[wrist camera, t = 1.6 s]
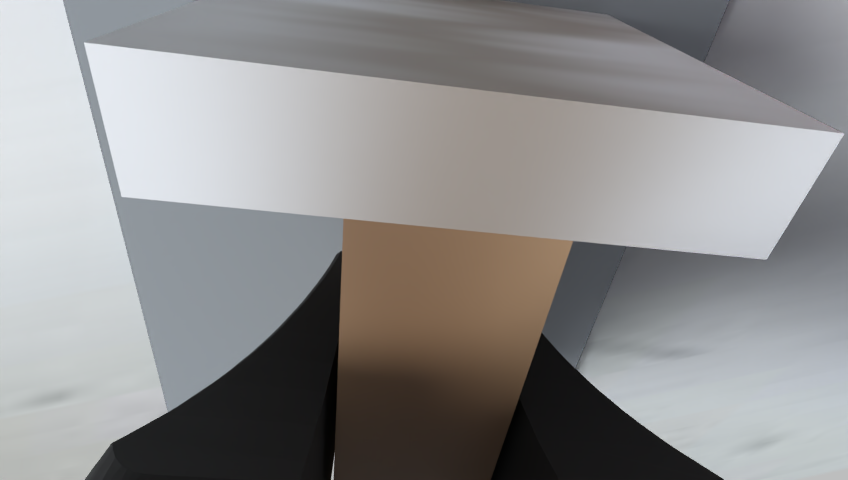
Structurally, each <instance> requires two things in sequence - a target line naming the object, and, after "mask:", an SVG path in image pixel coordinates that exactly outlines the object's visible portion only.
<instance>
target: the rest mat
mask: <svg viewBox="0 0 848 480" xmlns="http://www.w3.org/2000/svg"><path fill="white" fill-rule="evenodd" d="M194 1H197V0H63V2H64V6H65V10H66V14H67V18H68V22H69V26H70V30H71V34H72V38H73V41H74V45H75V49H76V53H77V57H78V61H79V65H80V69H81V73H82V77H83V81H84V85H85V89H86V92H87V96H88V100H89V104H90V108H91V112H92V116H93V120H94V124H95V128H96V132H97V136H98V140H99V143H100V147H101V151H102V155H103V159H104V163H105V167H106V171H107V175H108V179H109V183H110V187H111V190H112V194H113V198H114V202H115V206H116V210H117V214H118V218H119V222H120V226H121V230H122V234H123V238H124V241H125V245H126V249H127V253H128V257H129V261H130V265H131V269H132V273H133V277H134V281H135V285H136V289H137V292H138V296H139V300H140V304H141V308H142V312H143V316H144V320H145V324H146V328H147V332H148V336H149V340H150V343H151V347H152V351H153V355H154V359H155V363H156V367H157V371H158V375H159V379H160V383H161V387H162V390H163V394H164V398H165V402H166V406H167V410H168V412H169V411H171V410H172V409H174V408H176V407H177V406H179V405H180V404H182V403H183V402H185V401H186V400H188V399H189V398H191V397H192V396H194V395H195V394H197V393H198V392H200V391H201V390H203V389H204V388H206V387H207V386H209V385H210V384H212V383H213V382H215V381H216V380H217V379H219V378H220V377H221V376H223V375H224V374H225V373H227V372H228V371H229V370H231V369H232V368H233V367H234V366H236V365H237V364H238V363H239V362H240V361H242V360H243V359H244V358H245V357H247V356H248V355H249V354H250V353H252V352H253V351H254V350H255V349H256V348H257V347H258V346H259V345H261V344H262V343H263V342H264V341H265V340H266V339H267V338H268V337H269V336H270V335H271V334H272V333H273V332H274V331H275V330H276V329H278V328H279V327H280V326H281V324H282V323H283V322H284V321H285V320H286V319H287V318H288V317H289V316H290V315H291V314H292V313H293V312H294V310H295V309H296V308H297V307H298V306H299V305H300V304H301V303H302V301H303V300H304V299H305V298H306V297H307V295H308V294H309V293H310V292H311V290H312V289H313V288H314V287H315V285H316V284H317V283H318V281H319V280H320V279H321V277H322V276H323V275H324V273H325V272H326V270H327V269H328V267H329V266H330V264H331V263H332V261H333V259H334V258H335V256H336V254H337V253H339V252H340V251H342V243H343V218H333V217H323V216H313V215H302V214H292V213H282V212H272V211H261V210H251V209H241V208H231V207H220V206H210V205H200V204H190V203H179V202H169V201H159V200H149V199H138V198H128V197H122V196H121V192H120V188H119V184H118V180H117V176H116V172H115V168H114V164H113V160H112V155H111V151H110V147H109V143H108V139H107V135H106V131H105V127H104V123H103V119H102V115H101V110H100V106H99V102H98V98H97V94H96V90H95V86H94V82H93V78H92V74H91V70H90V65H89V61H88V57H87V53H86V49H85V45H84V42H86V41H89V40H92V39H94V38H97V37H100V36H102V35H105V34H108V33H111V32H113V31H116V30H119V29H121V28H124V27H127V26H129V25H132V24H135V23H138V22H140V21H143V20H146V19H148V18H151V17H154V16H156V15H159V14H162V13H164V12H167V11H170V10H173V9H175V8H178V7H181V6H183V5H186V4H189V3H191V2H194ZM503 1H510V2H518V3H525V4H533V5H540V6H548V7H555V8H562V9H570V10H577V11H585V12H592V13H600V14H607V15H610V16H612V17H614V18H616V19H618V20H620V21H622V22H624V23H625V24H627V25H629V26H631V27H633V28H635V29H637V30H639V31H641V32H643V33H645V34H647V35H649V36H651V37H653V38H655V39H657V40H659V41H661V42H663V43H665V44H667V45H669V46H671V47H673V48H675V49H677V50H679V51H681V52H683V53H685V54H687V55H689V56H691V57H693V58H695V59H697V60H699V61H701V62H703V63H704V60H705V58H706V56H707V53H708V51H709V48H710V46H711V44H712V41H713V39H714V37H715V34H716V32H717V29H718V27H719V25H720V22H721V20H722V17H723V15H724V13H725V10H726V8H727V6H728V3H729V1H730V0H503ZM625 249H626V246H620V245H610V244H600V243H589V242H579V241H573V243H572V246H571V249H570V252H569V255H568V257H567V260H566V263H565V266H564V269H563V272H562V275H561V278H560V281H559V284H558V286H557V289H556V292H555V295H554V298H553V301H552V304H551V307H550V310H549V312H548V315H547V318H546V321H545V324H544V327H543V330H542V333H543V334H544V336H545V337H546V338H547V339H548V340H549V341H550V342H551V344H552V345H553V346H554V347H555V348H556V349H557V350H558V351H559V353H560V354H561V355H562V356H563V357H564V358H565V359H566V360H567V361H568V362H569V363H570V364H571V365H572V366H573V367H574V368H576V366H577V363H578V361H579V358H580V356H581V354H582V351H583V349H584V346H585V344H586V342H587V339H588V337H589V335H590V332H591V330H592V327H593V325H594V323H595V320H596V318H597V315H598V313H599V311H600V308H601V306H602V304H603V301H604V299H605V296H606V294H607V292H608V289H609V287H610V284H611V282H612V280H613V277H614V275H615V273H616V270H617V268H618V265H619V263H620V261H621V258H622V256H623V253H624V251H625Z"/></svg>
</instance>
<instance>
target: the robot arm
mask: <svg viewBox="0 0 848 480" xmlns="http://www.w3.org/2000/svg"><path fill="white" fill-rule="evenodd" d="M341 270H342V251H340V252H339V253H337V254H336V256H335V258H334V259H333V261H332V263H331V264H330V266H329V267H328V269H327V270H326V272H325V273H324V275H323V276H322V277H321V279H320V280H319V281H318V283H317V284H316V285H315V287H314V288H313V289H312V290H311V292H310V293H309V294H308V295H307V297H306V298H305V299H304V300H303V301H302V303H301V304H300V305H299V306H298V307H297V308H296V309H295V310H294V312H293V313H292V314H291V315H290V316H289V317H288V318H287V319H286V320H285V321H284V322H283V323H282V324H281V326H280V327H279V328H278V329H276V330H275V331H274V332H273V333H272V334H271V335H270V336H269V337H268V338H267V339H266V340H265V341H264V342H263V343H262V344H261V345H259V346H258V347H257V348H256V349H255V350H254V351H253V352H252V353H250V354H249V355H248V356H247V357H245V358H244V359H243V360H242V361H240V362H239V363H238V364H237V365H236V366H234V367H233V368H232V369H231V370H229V371H228V372H227V373H225V374H224V375H223V376H221V377H220V378H219V379H217V380H216V381H215V382H213V383H212V384H210V385H209V386H207V387H206V388H204V389H203V390H201V391H200V392H198V393H197V394H195V395H194V396H192V397H191V398H189V399H188V400H186V401H185V402H183V403H182V404H180V405H179V406H177V407H176V408H174V409H172V410H171V411H169V412H168V413H166V414H164V415H163V416H161V417H159V418H157V419H155V420H154V421H152V422H150V423H148V424H146V425H145V426H143V427H141V428H139V429H137V430H135V431H134V432H132V433H130V434H128V435H126V436H125V437H123V438H121V439H119V440H117V441H115V442H113V443H112V444H111V445H110V446H109V448H108V449H107V450H106V452H105V453H104V454H103V456H102V457H101V459H100V460H99V461H98V462H97V464H96V465H95V466H94V468H93V469H92V470H91V472H90V473H89V475H88V476H87V477H86V479H85V480H331V474H332V467H333V460H334V453H335V433H336V406H337V379H338V352H339V324H340V297H341ZM491 480H724V479H722V478H721V477H719V476H718V475H716V474H714V473H713V472H711V471H710V470H708V469H707V468H705V467H703V466H702V465H700V464H699V463H697V462H695V461H694V460H692V459H691V458H689V457H688V456H686V455H684V454H683V453H681V452H680V451H678V450H676V449H675V448H673V447H672V446H670V445H669V444H667V443H666V442H665V441H663V440H662V439H660V438H659V437H658V436H656V435H655V434H653V433H652V432H651V431H649V430H648V429H646V428H645V427H644V426H642V425H641V424H640V423H638V422H637V421H636V420H634V419H633V418H632V417H630V416H629V415H628V414H627V413H625V412H624V411H623V410H621V409H620V408H619V407H618V406H617V405H615V404H614V403H613V402H612V401H611V400H610V399H608V398H607V397H606V396H605V395H604V394H602V393H601V392H600V391H599V390H598V389H597V388H595V387H594V386H593V385H592V384H591V383H590V382H589V381H588V380H587V379H586V378H585V377H583V376H582V375H581V374H580V373H579V372H578V371H577V370H576V369H575V368H574V367H573V366H572V365H571V364H570V363H569V362H568V361H567V360H566V359H565V358H564V357H563V356H562V355H561V354H560V353H559V351H558V350H557V349H556V348H555V347H554V346H553V345H552V344H551V342H550V341H549V340H548V339H547V338H546V337H545V336H544V334H543V333H541V336H540V339H539V341H538V344H537V347H536V350H535V353H534V356H533V359H532V362H531V365H530V368H529V370H528V373H527V376H526V379H525V382H524V385H523V388H522V391H521V394H520V396H519V399H518V402H517V405H516V408H515V411H514V414H513V417H512V420H511V423H510V425H509V428H508V431H507V434H506V437H505V440H504V443H503V446H502V449H501V452H500V454H499V457H498V460H497V463H496V466H495V469H494V472H493V475H492V478H491Z"/></svg>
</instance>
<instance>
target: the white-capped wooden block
mask: <svg viewBox="0 0 848 480" xmlns="http://www.w3.org/2000/svg"><path fill="white" fill-rule="evenodd" d="M84 45H85V49H86V53H87V57H88V61H89V65H90V70H91V74H92V78H93V82H94V86H95V90H96V94H97V98H98V102H99V106H100V110H101V115H102V119H103V123H104V127H105V131H106V135H107V139H108V143H109V147H110V151H111V155H112V160H113V164H114V168H115V172H116V176H117V180H118V184H119V188H120V192H121V196H122V197H128V198H138V199H149V200H159V201H169V202H179V203H190V204H200V205H210V206H220V207H231V208H241V209H251V210H261V211H272V212H282V213H292V214H302V215H313V216H323V217H333V218H343V243H342V270H341V297H340V324H339V352H338V379H337V406H336V433H335V460H334V480H491V478H492V475H493V472H494V469H495V466H496V463H497V460H498V457H499V454H500V452H501V449H502V446H503V443H504V440H505V437H506V434H507V431H508V428H509V425H510V423H511V420H512V417H513V414H514V411H515V408H516V405H517V402H518V399H519V396H520V394H521V391H522V388H523V385H524V382H525V379H526V376H527V373H528V370H529V368H530V365H531V362H532V359H533V356H534V353H535V350H536V347H537V344H538V341H539V339H540V336H541V333H542V330H543V327H544V324H545V321H546V318H547V315H548V312H549V310H550V307H551V304H552V301H553V298H554V295H555V292H556V289H557V286H558V284H559V281H560V278H561V275H562V272H563V269H564V266H565V263H566V260H567V257H568V255H569V252H570V249H571V246H572V243H573V241H579V242H589V243H600V244H610V245H620V246H630V247H641V248H651V249H661V250H671V251H682V252H692V253H702V254H712V255H723V256H733V257H743V258H753V259H764V260H767V258H768V257H769V255H770V253H771V252H772V250H773V249H774V247H775V245H776V244H777V242H778V240H779V239H780V237H781V236H782V234H783V232H784V231H785V229H786V228H787V226H788V224H789V223H790V221H791V219H792V218H793V216H794V215H795V213H796V211H797V210H798V208H799V207H800V205H801V203H802V202H803V200H804V198H805V197H806V195H807V194H808V192H809V190H810V189H811V187H812V186H813V184H814V182H815V181H816V179H817V177H818V176H819V174H820V173H821V171H822V169H823V168H824V166H825V165H826V163H827V161H828V160H829V158H830V156H831V155H832V153H833V152H834V150H835V148H836V147H837V145H838V144H839V142H840V140H841V139H842V137H843V135H844V133H842V132H840V131H838V130H836V129H834V128H832V127H830V126H828V125H826V124H824V123H822V122H820V121H818V120H816V119H814V118H812V117H810V116H809V115H807V114H805V113H803V112H801V111H799V110H797V109H795V108H793V107H791V106H789V105H787V104H785V103H783V102H781V101H779V100H777V99H775V98H773V97H771V96H769V95H767V94H765V93H763V92H761V91H759V90H757V89H755V88H753V87H751V86H749V85H747V84H745V83H743V82H741V81H739V80H737V79H735V78H733V77H731V76H729V75H727V74H725V73H723V72H721V71H719V70H717V69H715V68H713V67H711V66H709V65H707V64H705V63H703V62H701V61H699V60H697V59H695V58H693V57H691V56H689V55H687V54H685V53H683V52H681V51H679V50H677V49H675V48H673V47H671V46H669V45H667V44H665V43H663V42H661V41H659V40H657V39H655V38H653V37H651V36H649V35H647V34H645V33H643V32H641V31H639V30H637V29H635V28H633V27H631V26H629V25H627V24H625V23H624V22H622V21H620V20H618V19H616V18H614V17H612V16H610V15H607V14H600V13H592V12H585V11H577V10H570V9H562V8H555V7H548V6H540V5H533V4H525V3H518V2H510V1H503V0H197V1H194V2H191V3H189V4H186V5H183V6H181V7H178V8H175V9H173V10H170V11H167V12H164V13H162V14H159V15H156V16H154V17H151V18H148V19H146V20H143V21H140V22H138V23H135V24H132V25H129V26H127V27H124V28H121V29H119V30H116V31H113V32H111V33H108V34H105V35H102V36H100V37H97V38H94V39H92V40H89V41H86V42H84Z"/></svg>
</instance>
